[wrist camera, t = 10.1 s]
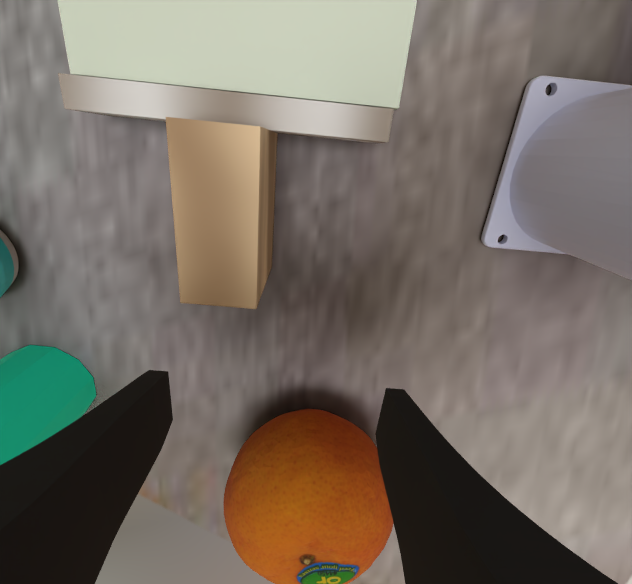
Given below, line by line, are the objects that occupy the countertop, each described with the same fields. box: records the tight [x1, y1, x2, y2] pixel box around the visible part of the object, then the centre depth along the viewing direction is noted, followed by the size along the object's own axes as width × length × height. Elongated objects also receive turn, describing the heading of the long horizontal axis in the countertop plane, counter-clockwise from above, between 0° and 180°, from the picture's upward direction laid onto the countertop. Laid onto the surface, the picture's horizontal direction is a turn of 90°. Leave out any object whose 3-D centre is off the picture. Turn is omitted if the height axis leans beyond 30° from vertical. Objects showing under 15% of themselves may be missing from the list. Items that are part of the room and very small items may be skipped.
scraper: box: [58, 73, 394, 309], centre depth 15 cm, size 13×8×6 cm, turn 85°
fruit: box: [224, 409, 393, 584], centre depth 21 cm, size 11×10×8 cm
